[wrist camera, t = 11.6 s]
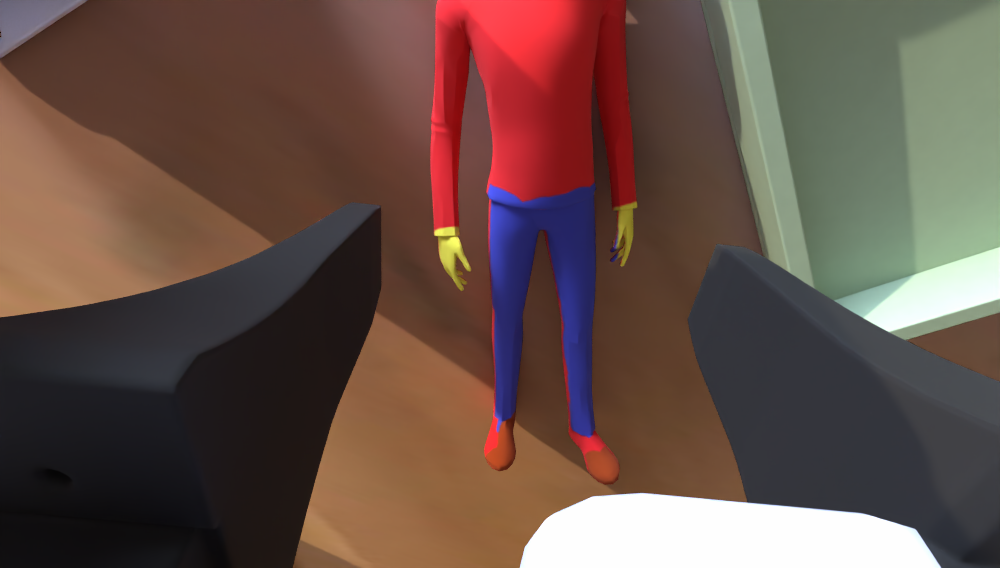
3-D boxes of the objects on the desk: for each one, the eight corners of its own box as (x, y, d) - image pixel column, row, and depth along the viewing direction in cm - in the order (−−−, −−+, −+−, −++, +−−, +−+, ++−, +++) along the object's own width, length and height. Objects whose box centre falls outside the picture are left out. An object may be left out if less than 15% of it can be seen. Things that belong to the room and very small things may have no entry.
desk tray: (779, 322, 19) (810, 369, 17) (620, -320, 11) (644, -374, 9) (1129, 210, 17) (1213, 250, 15) (1283, -750, 8) (1533, -967, 6)
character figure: (480, 524, 18) (390, -436, 7) (450, 425, 21) (359, -314, 10) (638, 476, 19) (779, -395, 8) (585, 391, 23) (633, -300, 12)
